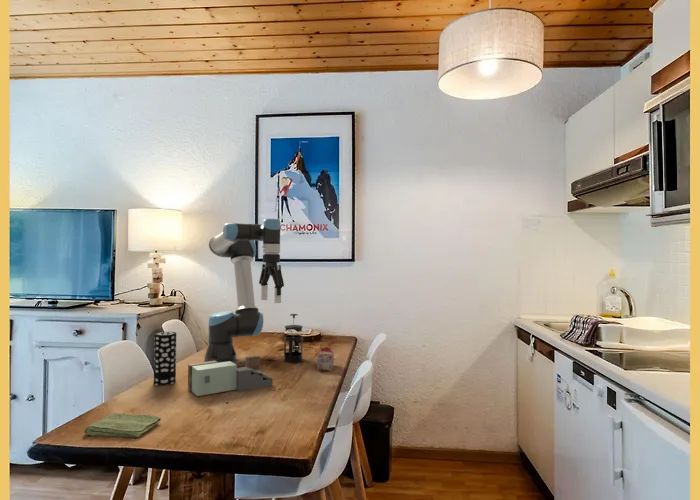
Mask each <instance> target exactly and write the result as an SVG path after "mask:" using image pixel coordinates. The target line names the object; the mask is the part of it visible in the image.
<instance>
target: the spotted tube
mask: <svg viewBox="0 0 700 500" xmlns="http://www.w3.org/2000/svg"><path fill="white" fill-rule="evenodd" d="M153 339H154V341H153V343H154V344H153V345H154V346H153V385H154V386H161V387H162V386H163V387H164V386H170V385H172V384H175V383H176V382H177V381H176V380H177V332H175V331H160V332H155V333H154V337H153Z"/></svg>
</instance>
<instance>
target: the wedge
mask: <svg viewBox="0 0 700 500" xmlns="http://www.w3.org/2000/svg"><path fill="white" fill-rule="evenodd" d="M268 387H273V378H272V377H270V376H269V375H267V374H264V372H262V371H261V370H260V371H259V370H253V369H251V368H248V367H246V366H243V367H237V378H236V389H235V390H234V391H237V392H238V393H240V392H245V391H251V390H256V389H262V388H263V389H264V388H268Z"/></svg>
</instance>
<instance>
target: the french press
mask: <svg viewBox="0 0 700 500" xmlns="http://www.w3.org/2000/svg"><path fill="white" fill-rule="evenodd" d="M298 315H299V314H298V313H291V314H289V316H290V317H291V316H292V319H293V320H292V321H293V324H287V325H285V326H284V328H285V329H284V330H285V332H287V331H288V330H290V331H291V330H292V333H293V334H286V335H284V337H283V338H284V342H283V343H284V346H283V347H284V351H283V352H284V353H283V354H284V355H283V361H284V362H285V363H289V364H292V363H293V364H294V363H295V364H296V363H300V362H304V361H303V340H304V339H303V338H304V337H303V335H301V334H295V331H296V332H297V333H300V332H302V330H303V325H299V324H295V318H296V316H298ZM287 341H288V345H287ZM299 350H300V351H299Z"/></svg>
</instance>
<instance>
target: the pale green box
mask: <svg viewBox="0 0 700 500" xmlns="http://www.w3.org/2000/svg"><path fill="white" fill-rule="evenodd" d="M237 366H238V365H237V364H236V363H234V361H227V362H220V363H213V364H206V365H198V366H192V392H191V393H193V394H194V395H195V396H196V397H199V396H206V395H211V394H219V393H222V392H223V393H224V392H229V391H236V390H235V389H236V378H237V368H238V367H237Z"/></svg>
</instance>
